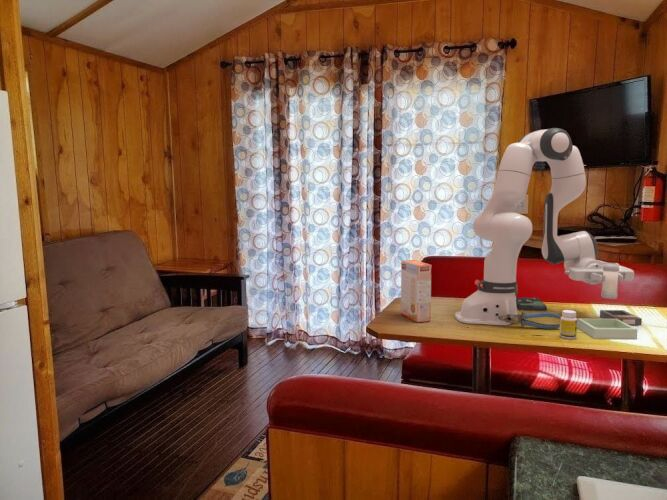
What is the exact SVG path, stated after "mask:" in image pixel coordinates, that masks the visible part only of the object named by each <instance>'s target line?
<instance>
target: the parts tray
mask: <svg viewBox="0 0 667 500" xmlns="http://www.w3.org/2000/svg"><path fill="white" fill-rule="evenodd" d="M576 318H577V317H576ZM577 329H579V330H580V331H582V332H583V333H585V334H586V335H588V336H590V337H591V338H593V340H595V339H598V340H600V339H603V340H605V339H606V340H607V339H609V340H610V339H611V340H616V339H617V340H619V339H620V340H637V339H638V330H639V329H638V328H636V327H634V326H630V325H628V324H626V323H624V322H622V321H620V320H618V319H603V318H586V317H585V318H582V317H581V318H577Z"/></svg>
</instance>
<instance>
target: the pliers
mask: <svg viewBox="0 0 667 500" xmlns="http://www.w3.org/2000/svg"><path fill="white" fill-rule="evenodd" d="M548 317H549V318H555V319H561V317H562V314H560V313H556V312H553V311H551V312H550V311H536V312H531V313H527V312H526V311H521V314H519V313H518V315H515V314H506V315H502V316H499V317H498V319H499V320H502V321H505V322H507V323H511V324H515V323H516V324H520V326H521V327H522V328H524V327H526V326H530V327H532V328H538V329H541V330H542V329H544V330H553V329H560V323H559V324H557V323H556V324H548V323H547V324H546V323H541V322H537V321H532V320H529V319H537V318H548ZM503 318H505V319H503Z"/></svg>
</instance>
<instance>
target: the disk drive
mask: <svg viewBox="0 0 667 500" xmlns="http://www.w3.org/2000/svg"><path fill="white" fill-rule="evenodd" d="M516 305H517V310H519V311H521V310H522V311H524V312H526V311H531V312H533V311H534V312H548V310H547V309H548V307H547V305H546V303H544V302H543V301H542V300H540V299H539V298H538V297H526V296H525V297H518V296H516ZM522 311H521V312H522Z"/></svg>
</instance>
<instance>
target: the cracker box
mask: <svg viewBox="0 0 667 500" xmlns="http://www.w3.org/2000/svg"><path fill="white" fill-rule="evenodd" d="M400 263H401V267H400V268H401V269H400V273H401V275H400V314H401V315H402V316H404V317H406V318H408V319H409V320H410V321H411V320H412V321H413V322H415V323H427V322H429V323H430V322H431V310H432V309H431V308H432V306H431V305H432V303H431V301H432V297H431V296H432V264H429V263H428V262H427V263H426V262H422V261H419V260H415V259H407V260H401V262H400Z"/></svg>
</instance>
